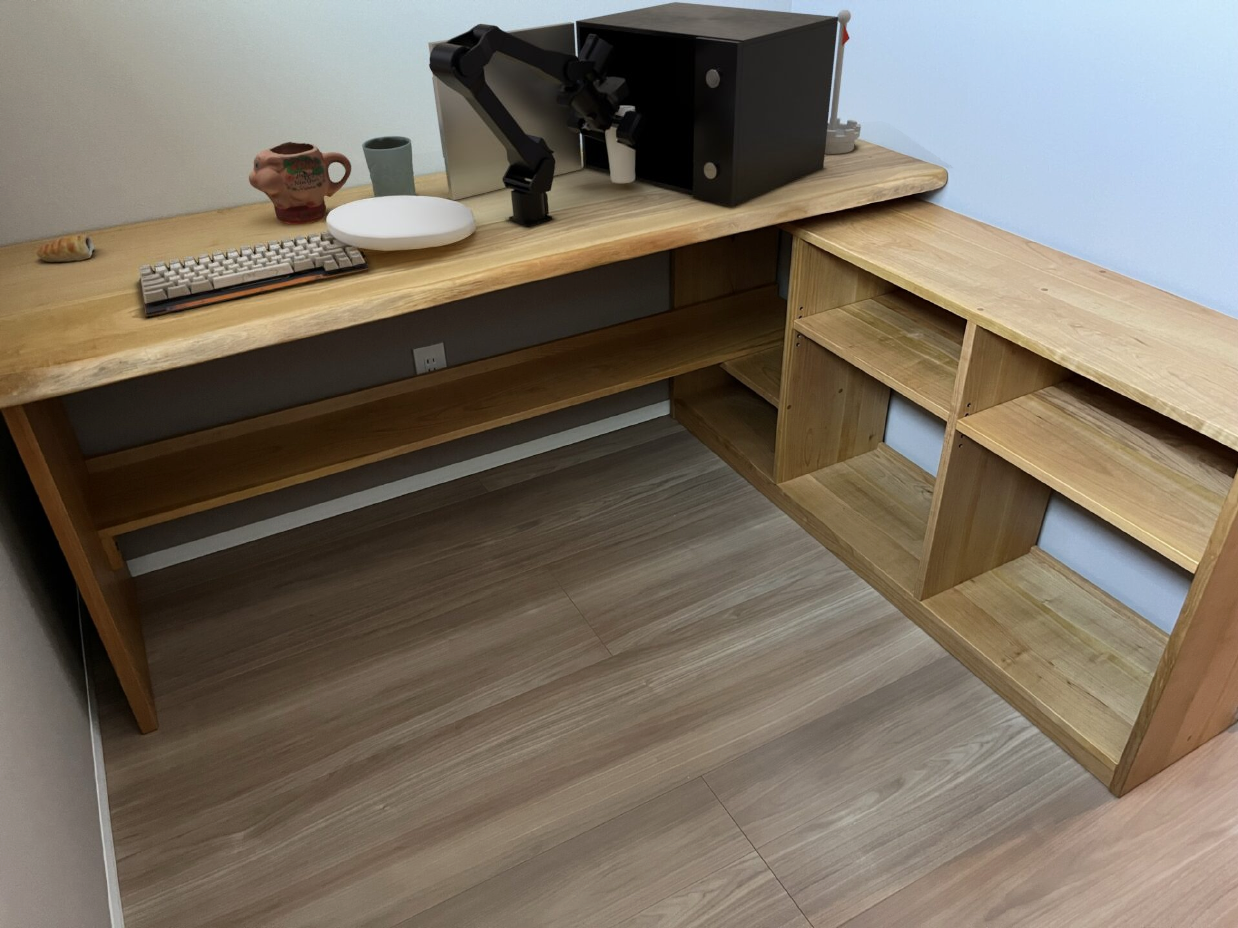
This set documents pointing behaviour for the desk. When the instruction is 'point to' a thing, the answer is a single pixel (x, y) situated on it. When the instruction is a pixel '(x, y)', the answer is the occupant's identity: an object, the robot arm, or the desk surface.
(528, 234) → the desk surface
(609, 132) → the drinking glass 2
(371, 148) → the green cup
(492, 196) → the desk surface
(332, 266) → the mechanical keyboard
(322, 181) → the sculpted ceramic mug
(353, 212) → the white round disc
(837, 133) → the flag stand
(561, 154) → the microwave door
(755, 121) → the microwave
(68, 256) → the pastry
